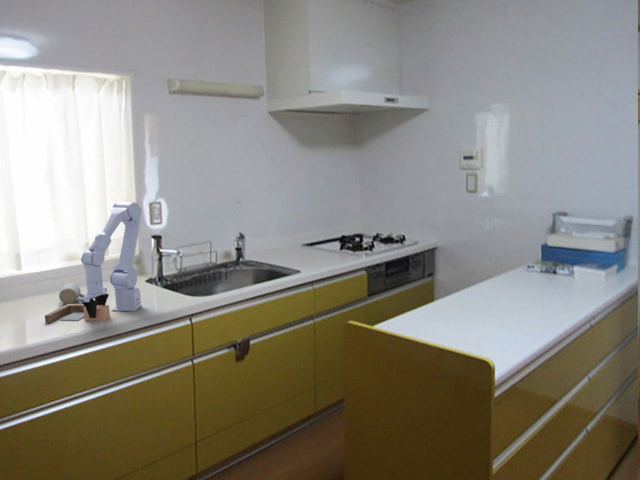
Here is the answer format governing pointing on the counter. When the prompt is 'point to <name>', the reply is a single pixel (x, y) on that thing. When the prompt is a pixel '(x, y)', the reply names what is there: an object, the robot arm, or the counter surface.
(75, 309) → the brown l-shaped piece
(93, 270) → the robot arm
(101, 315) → the block
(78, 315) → the mat
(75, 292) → the ceramic mug
